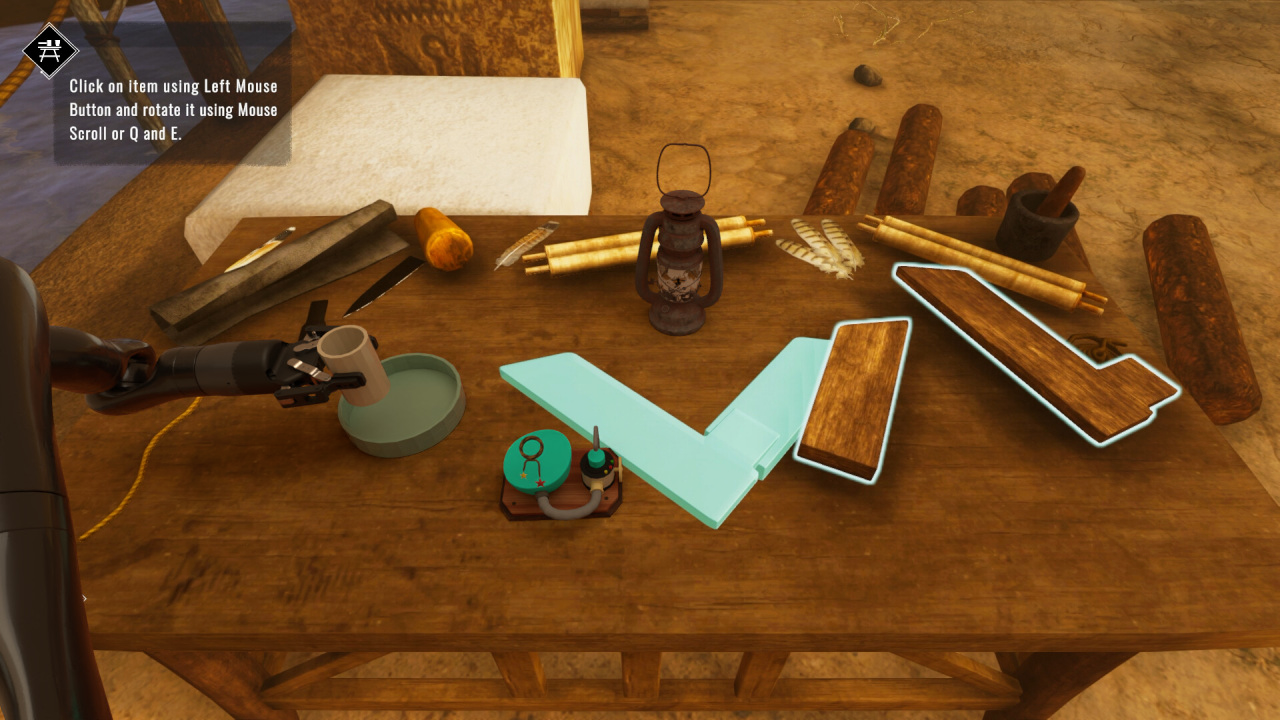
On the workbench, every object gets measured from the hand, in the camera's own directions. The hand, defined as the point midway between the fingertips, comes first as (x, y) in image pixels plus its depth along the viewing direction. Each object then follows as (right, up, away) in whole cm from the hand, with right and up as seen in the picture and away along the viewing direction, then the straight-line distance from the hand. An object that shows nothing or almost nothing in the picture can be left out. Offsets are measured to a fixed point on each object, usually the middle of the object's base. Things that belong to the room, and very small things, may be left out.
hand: (370, 360), depth 80 cm
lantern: (+45, +8, +32) cm, 56 cm away
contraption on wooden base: (+26, -20, +5) cm, 33 cm away
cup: (-2, -4, +4) cm, 6 cm away
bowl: (-1, -8, +16) cm, 18 cm away
